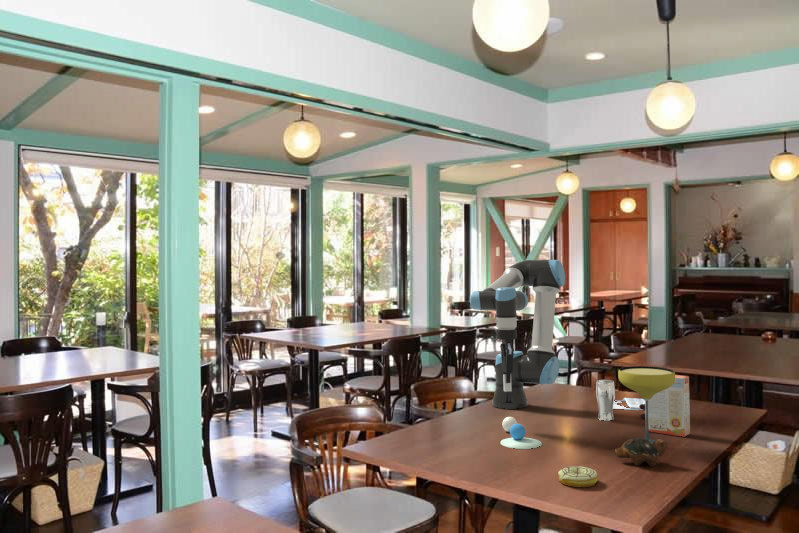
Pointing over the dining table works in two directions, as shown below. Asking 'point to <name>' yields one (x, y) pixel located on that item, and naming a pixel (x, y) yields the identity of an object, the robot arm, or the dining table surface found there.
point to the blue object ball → (517, 431)
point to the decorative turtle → (642, 450)
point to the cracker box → (670, 409)
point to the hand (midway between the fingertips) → (507, 391)
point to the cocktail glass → (646, 382)
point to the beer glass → (605, 399)
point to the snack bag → (630, 404)
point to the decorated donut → (578, 476)
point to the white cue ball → (508, 423)
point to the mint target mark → (521, 443)
